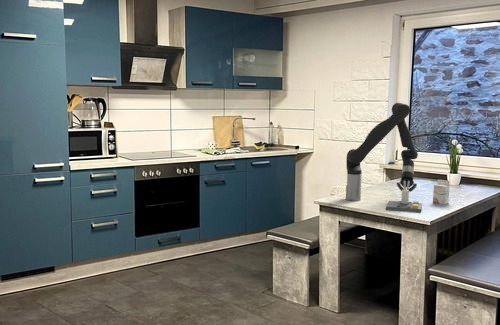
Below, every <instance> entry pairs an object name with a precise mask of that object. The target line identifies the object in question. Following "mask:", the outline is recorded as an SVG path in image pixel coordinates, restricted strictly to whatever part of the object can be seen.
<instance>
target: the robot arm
mask: <svg viewBox="0 0 500 325" xmlns="http://www.w3.org/2000/svg"><path fill="white" fill-rule="evenodd" d="M410 111H411V107H410V106H409V105H408V104H406V103H403V102H395V103H394V104H393V105H392V107H391V113H392V114H391V115H390V116H389V117H388V118H387V119H385V120H383V121H381V122H379V123H378V124H377V125H375V126H374V127H373V128H372V129H371V130H370V132H369V133H368V134H367V136H366V137H365V139H364V141H363V142H362V143H361V144H360V145H359V146H358V147H357V148H352V149H349V150H348V152H347V153H346V162H345V163H346V172H347V174H346V185H345V200H346V201H354V202H355V201H356V202H357V201H361V199H362V197H361V196H362V168H361V164H362V162H363V161H364V160H365V159H366V157H367V156H368V155H369V153H370V152H371V151H373V149H375V147H376V146H378V144H380V142H382V141H383V139H384V138H386V137H387V135H389V133H390V132H392V131H393V129H394V128H395V127H397V130H398V133H399V138H400V142H401V143H400V144H401V147H403V148H405V149H403V150H402V151H401V152H400V156H401V159H402V170H401V174H400V175H401V177H400V181H399V182H396V187H397V188H398V189H399V190H400V191H401V192H402V190H409V193H411V192H413V191H414V190H415V189H416V188H417V187H418V186H417V185H418V184H417V183H415V182H414V174H415V173H414V172H415V170H414V169H415V168H414V167H415V162H414V160H416V159H417V158H418V156H419V153H418V150H417V149H416V147H415V145H414V143H413V138H412V134H411V130H410V129H409V126H408V125H407V122H406V118H407V117H408V116H409V114H410V113H411V112H410ZM406 148H408V149H406Z"/></svg>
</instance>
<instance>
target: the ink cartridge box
mask: <svg viewBox="0 0 500 325" xmlns="http://www.w3.org/2000/svg"><path fill="white" fill-rule="evenodd" d="M436 181H437V183H436V184H433V191H432V192H433V193H432V194H433V195H432V203H435V204H441V205H447V204H449V199H450V198H449V197H450V188H451V187H450V180H445V179H437V180H436Z"/></svg>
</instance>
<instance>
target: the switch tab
mask: <svg viewBox="0 0 500 325" xmlns="http://www.w3.org/2000/svg"><path fill="white" fill-rule="evenodd" d="M409 197H410V192H409V190H407V189H406V190H402V191H401V200H400V201H401V203H403V204H408V202H410V201H409V199H410V198H409Z"/></svg>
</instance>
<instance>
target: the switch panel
mask: <svg viewBox="0 0 500 325" xmlns="http://www.w3.org/2000/svg"><path fill="white" fill-rule="evenodd" d="M422 208H423V203H422V202H419V200H413V201H409V202H408V204H403V203H401V200H388V202H387V204H386V206H385V210H386V211H399V212H410V213H411V212H413V213H422Z"/></svg>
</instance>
